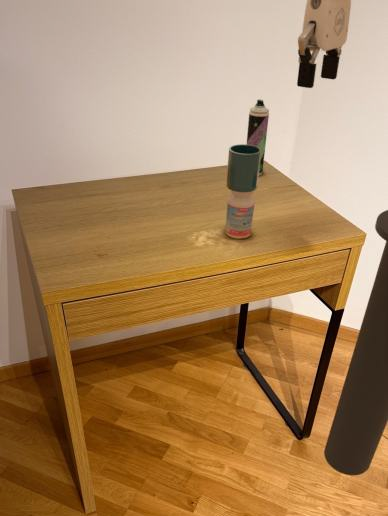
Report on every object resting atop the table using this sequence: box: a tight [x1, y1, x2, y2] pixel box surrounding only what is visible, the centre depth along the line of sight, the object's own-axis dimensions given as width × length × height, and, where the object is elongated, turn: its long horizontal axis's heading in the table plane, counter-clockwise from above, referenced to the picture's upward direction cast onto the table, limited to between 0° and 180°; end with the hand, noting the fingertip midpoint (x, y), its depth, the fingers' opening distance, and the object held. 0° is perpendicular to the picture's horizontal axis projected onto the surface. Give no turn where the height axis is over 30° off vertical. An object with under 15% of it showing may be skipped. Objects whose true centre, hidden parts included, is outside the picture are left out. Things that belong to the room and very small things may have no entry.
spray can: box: [246, 99, 270, 177], centre depth 141 cm, size 6×6×20 cm
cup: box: [225, 143, 261, 192], centre depth 106 cm, size 7×7×8 cm
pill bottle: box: [224, 190, 255, 240], centre depth 112 cm, size 6×6×11 cm
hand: (316, 82), depth 96 cm, fingers open, 9 cm apart
